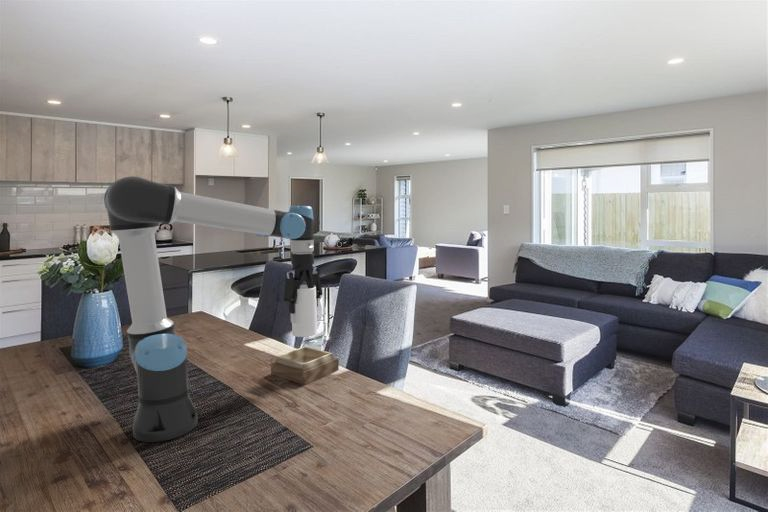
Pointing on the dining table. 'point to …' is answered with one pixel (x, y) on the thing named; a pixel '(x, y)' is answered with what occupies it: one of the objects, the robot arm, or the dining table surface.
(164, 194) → the robot arm
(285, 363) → the birch crate
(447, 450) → the dining table surface
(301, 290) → the cup
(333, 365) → the box
